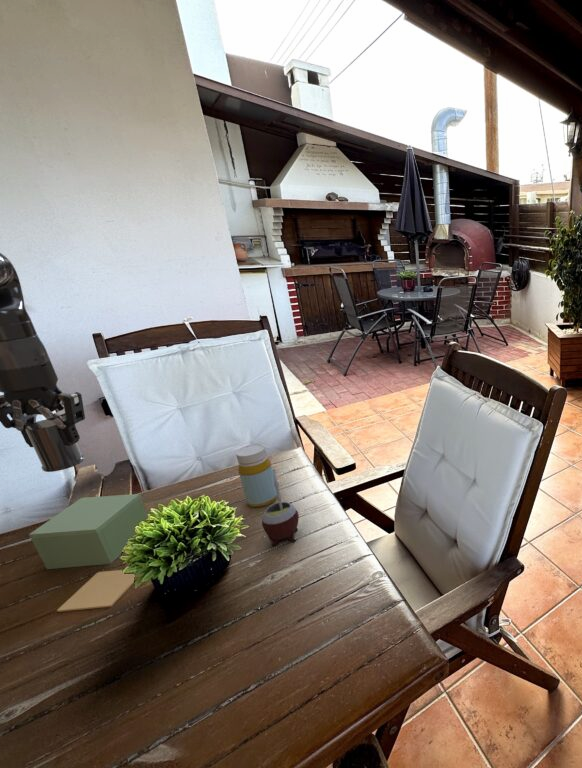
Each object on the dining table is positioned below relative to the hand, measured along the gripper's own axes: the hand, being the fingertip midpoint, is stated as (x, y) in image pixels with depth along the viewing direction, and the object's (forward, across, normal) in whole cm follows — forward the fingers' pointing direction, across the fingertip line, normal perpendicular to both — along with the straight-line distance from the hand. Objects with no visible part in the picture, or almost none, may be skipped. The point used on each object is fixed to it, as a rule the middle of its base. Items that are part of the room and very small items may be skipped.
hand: (55, 444), depth 78 cm
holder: (+4, 0, 0) cm, 4 cm away
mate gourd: (+27, +38, -1) cm, 46 cm away
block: (+26, -1, +2) cm, 27 cm away
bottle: (+27, +27, +14) cm, 40 cm away
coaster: (+26, +9, -11) cm, 30 cm away
